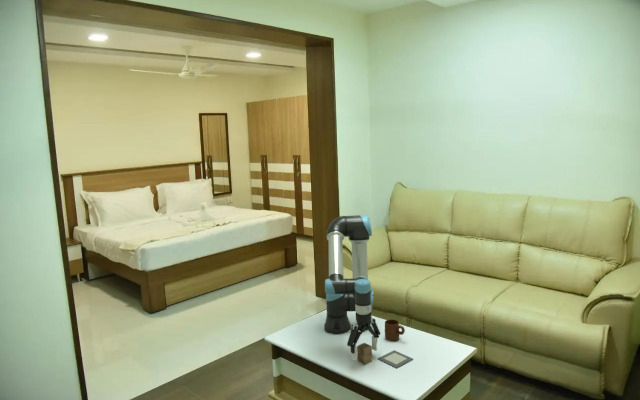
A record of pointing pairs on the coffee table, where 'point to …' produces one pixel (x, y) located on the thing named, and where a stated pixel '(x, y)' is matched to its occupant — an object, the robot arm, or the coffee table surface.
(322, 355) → the coffee table surface
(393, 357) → the mat
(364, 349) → the walnut block
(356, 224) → the robot arm
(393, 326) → the mug
